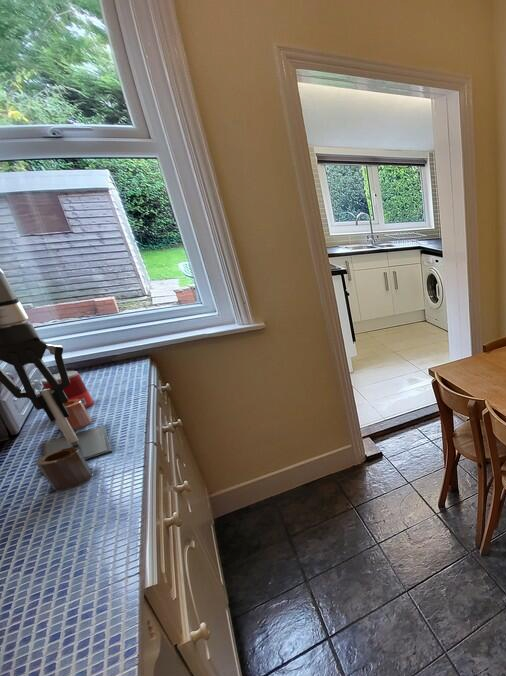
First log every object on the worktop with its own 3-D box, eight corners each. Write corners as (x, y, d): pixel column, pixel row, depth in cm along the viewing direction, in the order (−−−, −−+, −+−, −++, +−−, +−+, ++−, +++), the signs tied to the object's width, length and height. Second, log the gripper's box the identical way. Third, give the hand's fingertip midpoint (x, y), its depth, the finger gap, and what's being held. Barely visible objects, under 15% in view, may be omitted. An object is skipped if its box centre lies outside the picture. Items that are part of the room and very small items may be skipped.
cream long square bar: (68, 447, 102) (36, 391, 97) (75, 444, 104) (43, 389, 98) (76, 446, 102) (44, 390, 97) (82, 442, 104) (51, 388, 99)
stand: (45, 493, 87) (27, 466, 84) (70, 475, 93) (54, 449, 90) (77, 489, 87) (60, 462, 85) (101, 471, 93) (86, 445, 90)
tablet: (113, 453, 100) (111, 450, 100) (43, 477, 92) (40, 473, 92) (105, 427, 113) (103, 424, 113) (43, 446, 105) (41, 443, 105)
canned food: (100, 400, 130) (83, 368, 125) (85, 411, 123) (66, 378, 118) (70, 405, 128) (52, 373, 123) (53, 417, 121) (33, 383, 116)
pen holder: (54, 433, 111) (40, 411, 108) (74, 422, 117) (62, 400, 114) (80, 431, 112) (67, 408, 109) (98, 419, 118) (86, 398, 115)
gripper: (-50, 336, 84) (15, 434, 93) (52, 319, 93) (101, 410, 103) (-44, 330, 88) (17, 424, 98) (52, 314, 98) (99, 402, 108)
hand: (60, 417), depth 101 cm, fingers closed on cream long square bar, 2 cm apart
